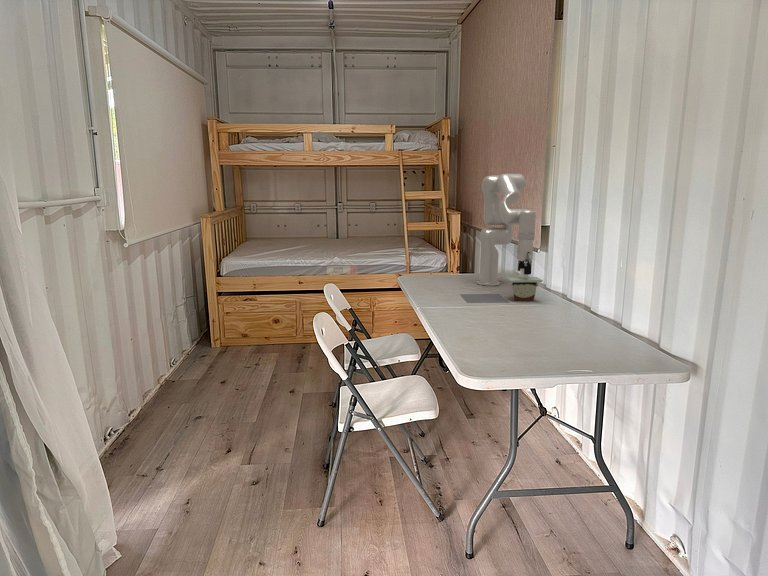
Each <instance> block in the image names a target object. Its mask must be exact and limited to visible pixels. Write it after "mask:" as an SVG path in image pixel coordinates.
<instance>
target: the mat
mask: <svg viewBox="0 0 768 576" xmlns="http://www.w3.org/2000/svg"><path fill="white" fill-rule="evenodd" d="M459 295H460V297H461V298H462V299H463V300H464V301H465V302H466V303H467V304H511V303H510V302H509V300H507V299H506V298H505V297H503V296H502V295H501V294H500V293H459Z"/></svg>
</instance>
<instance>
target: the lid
mask: <svg viewBox="0 0 768 576" xmlns="http://www.w3.org/2000/svg"><path fill="white" fill-rule="evenodd" d="M505 280H506V281H508V282H509V283H512V282H537V283H543V281H544V280H543V279H542V278H539V277H538V276H529V275H525V274H524V269H520V271H519V276H505Z"/></svg>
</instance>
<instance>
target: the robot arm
mask: <svg viewBox="0 0 768 576" xmlns="http://www.w3.org/2000/svg"><path fill="white" fill-rule="evenodd" d="M526 183H527V182H526V178H525V176H524V175H523V174H521V173H502V174H500V175H499V174H498V175H497V174H495V175H487V176H485V177H484V178H483V180H482V183H481V191H482V194H483V200H484V201H483V222H484V224H485V225H488V226H489V225H490V226H491V227H485V228H482V229H481V230H480V233H479V238H480V249H481V250H480V275H479V280H477V283H476V284H478V285H481V286H487V287H490V286H491V287H493V286H494V287H495V286H500V284H501V282H500V281H498V279H499V278H498V276H499V275H498V274H499V251H498V248H497V247H496V246H497V245H499V246H500V245H509V244H511V242H512V240H513V232H514V230H513V229H514V226H517V225H518V228H517V229H518V231H517V232H518V233H517V240H518V241H517V242H518V243H517V250H516V260H518V261H517V271H518V272H520V269H524V274H525V275H528V276H529V275H531V274H532V265H533V264H532V263H533V255H534V253H533V252H534V243H533V242H534V241H535V234H536V218H537V215H536V214H537V213H536V211H535V210H532V209H531V210H530V209H528V208H510V207H509V206H512V205H514V204H515V203H517V202H518V201H519V200H520V197H521V193H520V191H523V190H524V189H525V187H526ZM497 192H499V193H500V195H499V194H498V193H497ZM500 196H501V197H502V199H501V198H500ZM493 226H494V227H493ZM496 226H502V227H496Z"/></svg>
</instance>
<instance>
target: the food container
mask: <svg viewBox="0 0 768 576" xmlns="http://www.w3.org/2000/svg"><path fill="white" fill-rule="evenodd" d="M538 283H539V282H511V284H510V286H512V296H513V297H512V298H513V299H512V300H513V302H535V298H536V291H537V287H539V285H538Z"/></svg>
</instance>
